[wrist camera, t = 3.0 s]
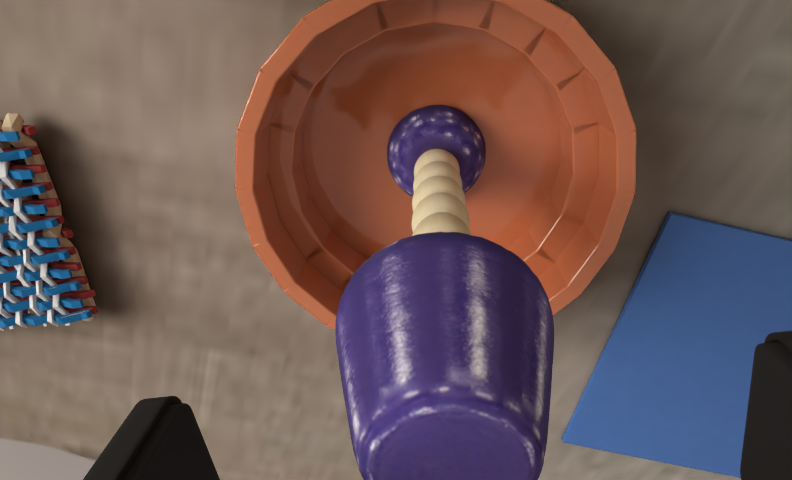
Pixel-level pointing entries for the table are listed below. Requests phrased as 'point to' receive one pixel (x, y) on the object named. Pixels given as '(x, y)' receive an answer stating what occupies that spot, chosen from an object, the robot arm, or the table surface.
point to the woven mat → (35, 241)
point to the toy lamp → (444, 329)
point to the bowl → (416, 88)
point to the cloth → (688, 347)
